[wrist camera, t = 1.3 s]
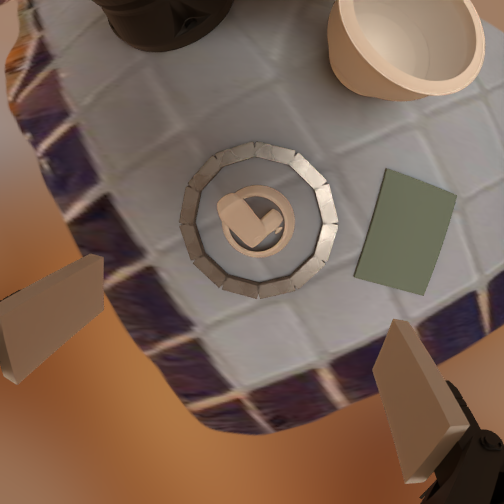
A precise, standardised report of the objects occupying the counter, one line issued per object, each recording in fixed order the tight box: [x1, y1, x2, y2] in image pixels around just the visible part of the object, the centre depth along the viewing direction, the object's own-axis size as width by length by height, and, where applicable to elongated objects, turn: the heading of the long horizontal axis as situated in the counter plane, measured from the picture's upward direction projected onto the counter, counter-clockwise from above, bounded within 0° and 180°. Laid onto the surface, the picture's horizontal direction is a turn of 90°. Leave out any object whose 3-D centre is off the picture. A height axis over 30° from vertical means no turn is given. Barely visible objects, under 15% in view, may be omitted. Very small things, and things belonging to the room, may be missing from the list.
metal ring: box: [179, 141, 338, 299], centre depth 33 cm, size 16×16×1 cm
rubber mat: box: [354, 169, 457, 296], centre depth 31 cm, size 12×9×1 cm
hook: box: [217, 185, 295, 257], centre depth 30 cm, size 8×12×7 cm
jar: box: [327, 0, 485, 101], centre depth 20 cm, size 11×10×15 cm
